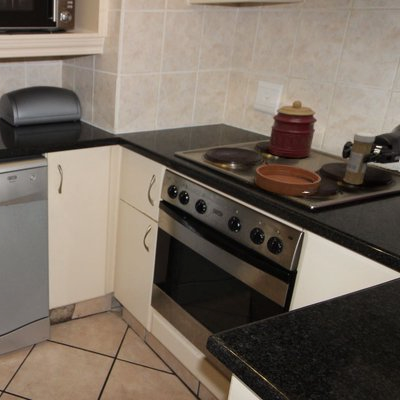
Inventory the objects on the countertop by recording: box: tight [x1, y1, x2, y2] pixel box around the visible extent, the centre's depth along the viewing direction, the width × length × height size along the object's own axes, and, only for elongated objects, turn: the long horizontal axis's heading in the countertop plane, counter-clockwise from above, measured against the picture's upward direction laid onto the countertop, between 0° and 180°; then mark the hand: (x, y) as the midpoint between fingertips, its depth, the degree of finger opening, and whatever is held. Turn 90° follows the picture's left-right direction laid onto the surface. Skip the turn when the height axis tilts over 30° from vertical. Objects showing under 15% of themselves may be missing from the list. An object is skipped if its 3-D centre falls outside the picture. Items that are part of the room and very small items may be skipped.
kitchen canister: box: [267, 100, 318, 159], centre depth 159 cm, size 13×13×18 cm
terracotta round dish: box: [253, 164, 322, 197], centre depth 133 cm, size 16×16×4 cm
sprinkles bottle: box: [342, 131, 376, 186], centre depth 126 cm, size 5×5×13 cm
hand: (354, 157), depth 125 cm, fingers closed on sprinkles bottle, 4 cm apart
